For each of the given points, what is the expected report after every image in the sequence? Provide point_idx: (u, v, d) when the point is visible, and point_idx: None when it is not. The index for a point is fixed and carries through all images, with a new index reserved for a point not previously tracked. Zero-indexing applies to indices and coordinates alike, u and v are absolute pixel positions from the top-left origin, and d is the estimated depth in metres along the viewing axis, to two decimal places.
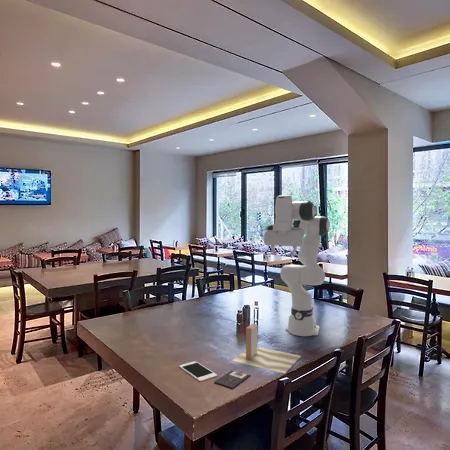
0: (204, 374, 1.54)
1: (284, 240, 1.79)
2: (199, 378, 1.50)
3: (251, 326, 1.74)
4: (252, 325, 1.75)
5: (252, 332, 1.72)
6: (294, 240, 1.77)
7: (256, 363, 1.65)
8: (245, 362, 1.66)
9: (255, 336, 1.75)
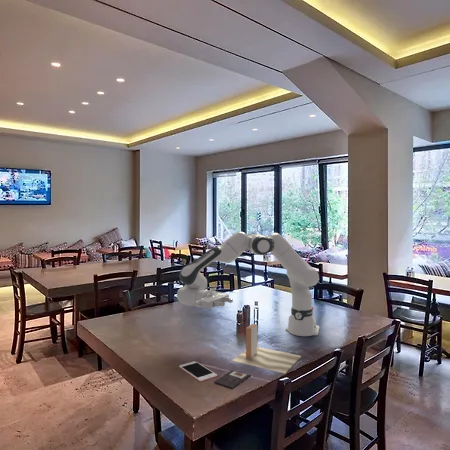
0: (204, 374, 1.54)
1: None
2: (199, 378, 1.50)
3: (251, 326, 1.74)
4: (252, 325, 1.75)
5: (252, 332, 1.72)
6: None
7: (256, 363, 1.65)
8: (245, 362, 1.66)
9: (255, 336, 1.75)
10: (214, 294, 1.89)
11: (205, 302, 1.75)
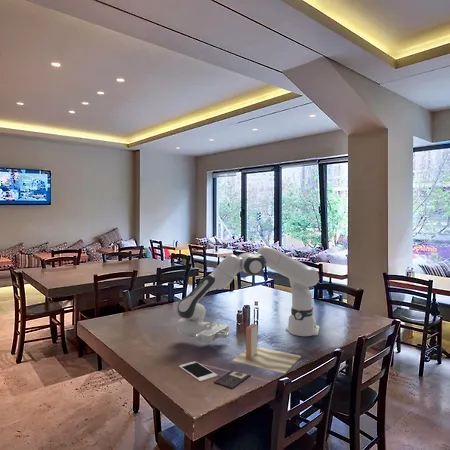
0: (204, 374, 1.54)
1: None
2: (199, 378, 1.50)
3: (251, 326, 1.74)
4: (252, 325, 1.75)
5: (252, 332, 1.72)
6: None
7: (256, 363, 1.65)
8: (245, 362, 1.66)
9: (255, 336, 1.75)
10: (214, 326, 1.90)
11: (205, 336, 1.76)
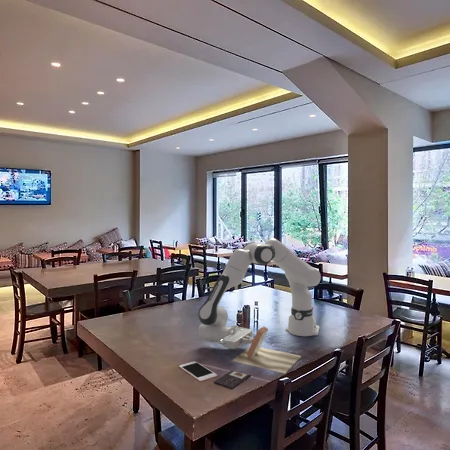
0: (204, 374, 1.54)
1: None
2: (199, 378, 1.50)
3: (262, 330, 1.71)
4: (263, 328, 1.72)
5: (261, 336, 1.69)
6: None
7: (256, 363, 1.65)
8: (245, 362, 1.66)
9: (262, 339, 1.73)
10: (237, 330, 1.83)
11: (230, 342, 1.69)
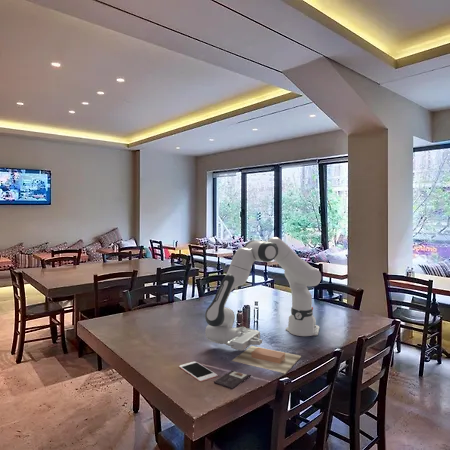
0: (204, 374, 1.54)
1: None
2: (199, 378, 1.50)
3: (281, 359, 1.67)
4: (283, 357, 1.68)
5: None
6: None
7: (256, 363, 1.65)
8: (245, 362, 1.66)
9: None
10: (245, 332, 1.81)
11: (238, 343, 1.67)
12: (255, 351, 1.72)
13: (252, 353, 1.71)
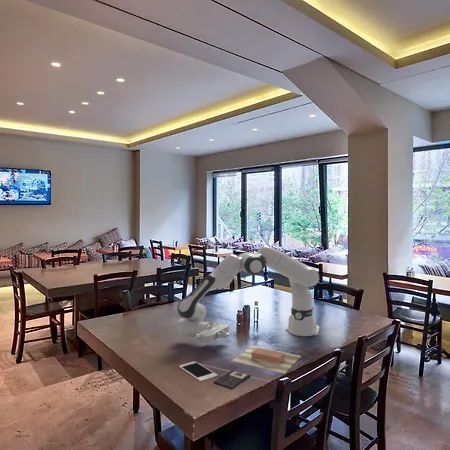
0: (204, 374, 1.54)
1: None
2: (199, 378, 1.50)
3: (281, 359, 1.67)
4: (283, 357, 1.68)
5: None
6: None
7: (256, 363, 1.65)
8: (245, 362, 1.66)
9: None
10: (214, 326, 1.90)
11: (205, 336, 1.76)
12: (255, 351, 1.72)
13: (252, 353, 1.71)
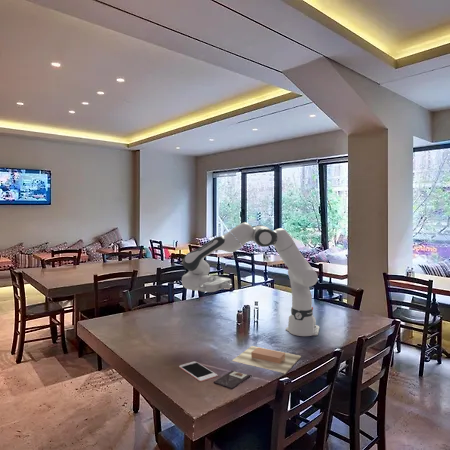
0: (204, 374, 1.54)
1: None
2: (199, 378, 1.50)
3: (281, 359, 1.67)
4: (283, 357, 1.68)
5: None
6: None
7: (256, 363, 1.65)
8: (245, 362, 1.66)
9: None
10: (217, 279, 1.98)
11: (209, 285, 1.84)
12: (255, 351, 1.72)
13: (252, 353, 1.71)
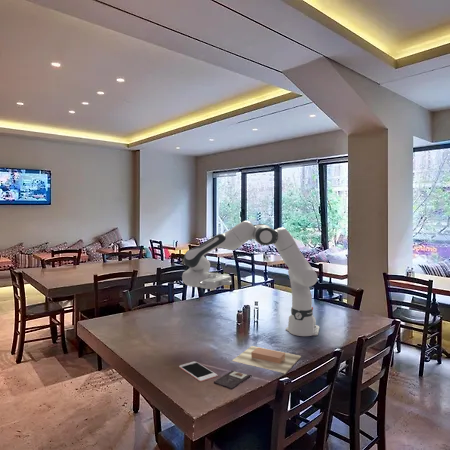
0: (204, 374, 1.54)
1: None
2: (199, 378, 1.50)
3: (281, 359, 1.67)
4: (283, 357, 1.68)
5: None
6: None
7: (256, 363, 1.65)
8: (245, 362, 1.66)
9: None
10: (217, 276, 2.00)
11: (209, 282, 1.86)
12: (255, 351, 1.72)
13: (252, 353, 1.71)
